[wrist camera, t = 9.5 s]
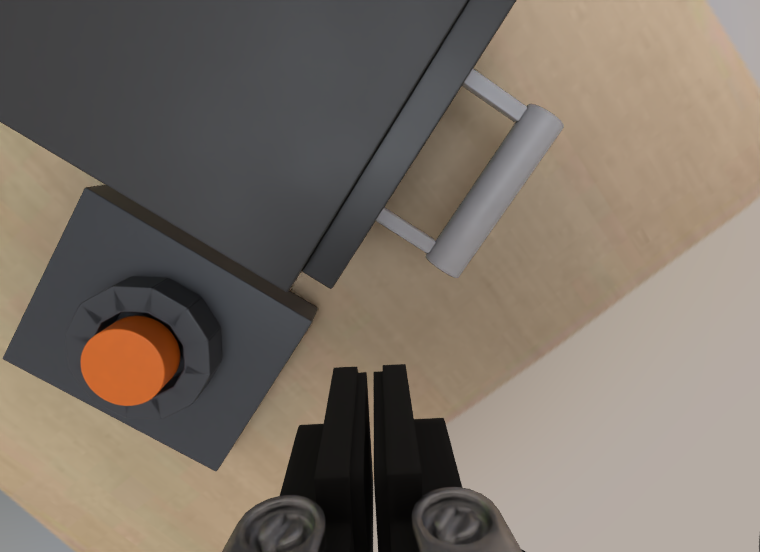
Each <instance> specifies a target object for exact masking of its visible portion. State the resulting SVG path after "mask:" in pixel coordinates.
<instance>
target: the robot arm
mask: <svg viewBox="0 0 760 552" xmlns="http://www.w3.org/2000/svg"><path fill="white" fill-rule="evenodd" d="M374 486H375V503H376V521H377V536H378V537H377V538H378V552H525V551H524V550H522V549H520V547H519V545H518V543H517V541H516V540H515V538H514V536H513V534H512V533H511V531H510V529H509V527H508V525H507V524H506V522H505V520H504V518H503V517H502V515H501V513H500V511H499V510H498V508H497V507H496V506H495V505H494V503H493V502H492V501H491V500H490V499H488V498H487V497H485V496H484V495H482V494H481V493H478V492H475V491H473V490H470V489H466V488H462V485H461V481H460V477H459V473H458V470H457V466H456V462H455V458H454V455H453V451H452V447H451V443H450V439H449V436H448V432H447V428H446V424H445V421H444V418H432V419H414V418H413V411H412V405H411V398H410V391H409V385H408V378H407V371H406V365H405V364H400V365H383V372H374ZM222 552H373V472H372V455H371V438H370V422H369V405H368V388H367V373H366V372H363V373H358V369H357V367H339V368H334V369H333V375H332V381H331V386H330V392H329V397H328V403H327V409H326V414H325V420H324V424H311V425H300V426H299V427H298V430H297V434H296V437H295V441H294V445H293V449H292V452H291V456H290V460H289V464H288V467H287V471H286V475H285V478H284V482H283V486H282V490H281V493H280V496H278V497H274V498H270V499H267V500H265V501H263V502H261V503H259V504H257V505H255V506H254V507H253V508H251V509H250V510H249V511H248V512H246V513H245V514H244V516H243V517H242V518H241V520H240V521H239V522H238V524H237V526H236V527H235V529H234V531H233V533H232V535H231V536H230V538H229V540H228V542H227V544H226V545H225V547H224V549H223V551H222Z"/></svg>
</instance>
